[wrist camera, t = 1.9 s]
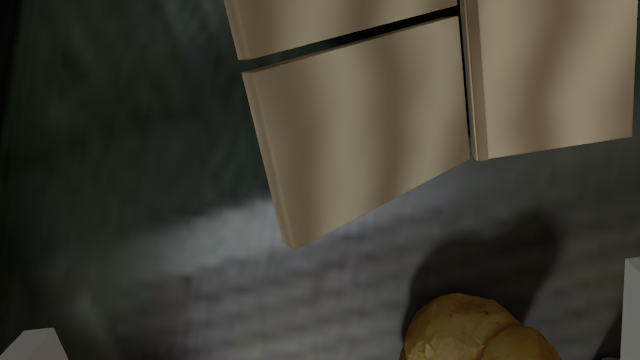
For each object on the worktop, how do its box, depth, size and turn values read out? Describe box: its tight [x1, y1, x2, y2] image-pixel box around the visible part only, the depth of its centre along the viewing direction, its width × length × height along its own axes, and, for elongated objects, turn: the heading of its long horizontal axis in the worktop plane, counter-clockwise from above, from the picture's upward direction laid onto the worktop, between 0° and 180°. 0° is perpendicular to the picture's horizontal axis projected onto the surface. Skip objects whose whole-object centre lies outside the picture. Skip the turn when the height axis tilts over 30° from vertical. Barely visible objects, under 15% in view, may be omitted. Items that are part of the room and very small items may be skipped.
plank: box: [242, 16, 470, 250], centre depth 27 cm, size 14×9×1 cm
